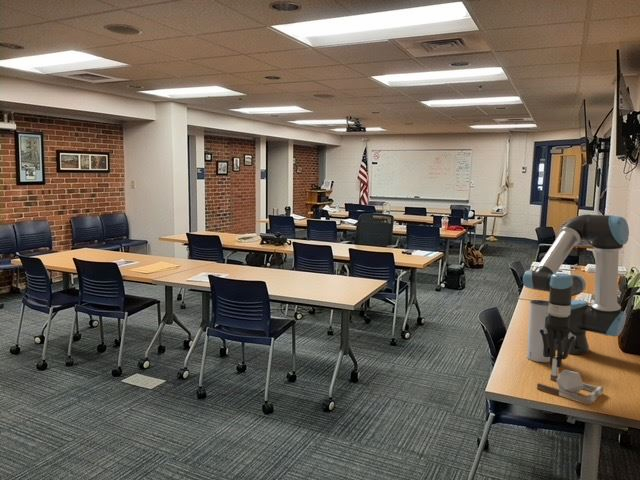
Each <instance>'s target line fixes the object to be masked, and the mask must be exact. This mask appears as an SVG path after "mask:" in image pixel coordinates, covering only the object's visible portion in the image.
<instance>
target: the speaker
mask: <svg viewBox="0 0 640 480" xmlns="http://www.w3.org/2000/svg"><path fill="white" fill-rule="evenodd" d="M548 309H549V300H543V299H533V300H530V301H529V310H528V311H529V314H528V315H529V316H528V330H527V331H528V333H527V348H526V350H527V351H526V358H527V359H528V360H530V361H532V360H533V361H532V362H537V363H550V357H549V356H548V355H546V354H545V350H544V344H543V339H542V335H541V333H540V330H541V329H544V328H546V326H547V324H548V314H550V313H549V312H548ZM547 332H548V331H547ZM547 335H548V340H549V346H551V336H550V334H549V333H547Z"/></svg>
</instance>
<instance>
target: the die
mask: <svg viewBox="0 0 640 480" xmlns="http://www.w3.org/2000/svg"><path fill="white" fill-rule="evenodd" d="M557 376H558V378H557V379H556V380H557V381H556V383H557V386H558V389H560V390H563V391H566V392H570V393H573V394H576V395H579V393H580V391H581V390H583V389H582V387H583V383H584V382H583V380H582V377H581V374H580V372H577V371H572V370H569V369H563V370H561V372H560V373H559V374H558V375H557Z"/></svg>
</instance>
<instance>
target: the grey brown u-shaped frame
mask: <svg viewBox="0 0 640 480" xmlns="http://www.w3.org/2000/svg"><path fill="white" fill-rule="evenodd" d="M558 376H559V375H556V376H553V375H552V373H551V374H550V380H551V381H555V382H557V380H556V379H557V378H558ZM582 383H583V387H582V389H581V390H585V391H589V392H590V394H588V395H587V396H583V395H581V394H580V395H579V394H577V395H576V394H573V393H570V392H566V391H563V390H560V389H559V388H556V387H553V386H549V385H546V384H543V383H540V382H538V383H537V385H536V389H537V390H538V391H539V390H540V391H542V392H546V393H550V394H552V395H556V396H559V397H562V398H566V399H568V400H573V401H575V402H578V403H580V404H584V405H588V406H591V405H592V404H593V403H594V402H595V401H596V400H597V399H599V398H600V397H601V395H603V393H604V385H601V384H600V385H599V386H595V385H592V384H588V383H584V382H582Z"/></svg>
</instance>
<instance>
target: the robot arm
mask: <svg viewBox="0 0 640 480" xmlns="http://www.w3.org/2000/svg"><path fill="white" fill-rule="evenodd" d="M556 235H557V236H556V239H555V240H554V241H553V243H552V244H551V245H550V247H549V249H548V250H547V252H546V253H545V254H544V256H543V257H542V259H541V261H540V262H539V263H538V264H537V266H536V267H535V269H533V270H532V269H531V270H530V269H528V270H526V271H524V274H523V276H522V285H523V286H524V287H525V288H527V289H531V290H537V291H540V292H541V291H542V292H549V298H548V299H549V300H548V301H549V309H548V312H549V313H550V314H548V324H547V326H546V328H544V329H541V330H540V333H541V335H542V339H543V344H544V350H545V354H546V355H548V356H549V357H550V362H549V365H550V366H551V374H552V375H553V376H556V375H557V376H559V369H560V368H561V367H562V366H563V365H562V363H563V361H562V360H566V359H567V358H568V357H569V354H570V355H585V354H588V353H589V352H590V346H589V342H588V339H587V334H586V333H587V332H591V333H594V334H599V335H602V336H605V337H606V336H610V337H618V336H620V335H621V333H622V331H623V329H624V326H625V325H626V319H627V315H626V314H627V313H626V312H625V311H624V310H622V306H621V304H619V303H618V286H619V284H618V283H619V281H618V280H619V252H620V250H622V249H623V248H624V245H626V244H627V243H628V241H629V237H630V227H629V224H628V221H627V220H626V218H624V217H623V216H616V215H607V214H606V215H605V214H604V215H603V214H602V215H600V214H581V215H577V216H574V217H573V218H571V219H569V220H568V221H567V222H565V223H564V224H563V225H562V226H561V227H560V229H559V230H558V232H557V234H556ZM583 241H586V242H591V248H593V249H594V250H595V274H594V275H595V276H594V281H595V282H594V301H593V302H592V303H589V302H588V301H587V300H581V299H580V300H579V299H572V297H574V296H578V295H580V294H581V293H583V292H585V289H586V287H587V286H586V280H585V279H584V278H583V276H580V275H577V274H572V275H571V274H570V273H569V274H568V273H561V272H558V271H559V269H560V267H561V266H562V264H564V262H565V260H566V259H567V257H568V256H569V254H570V252H571V251H572V249H574V247H575V246H577V245H579V244H580V242H583ZM589 304H590V305H589ZM547 331H548V332H547ZM547 333H549V334H550V336H551V346H549V340H548V335H547Z"/></svg>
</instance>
